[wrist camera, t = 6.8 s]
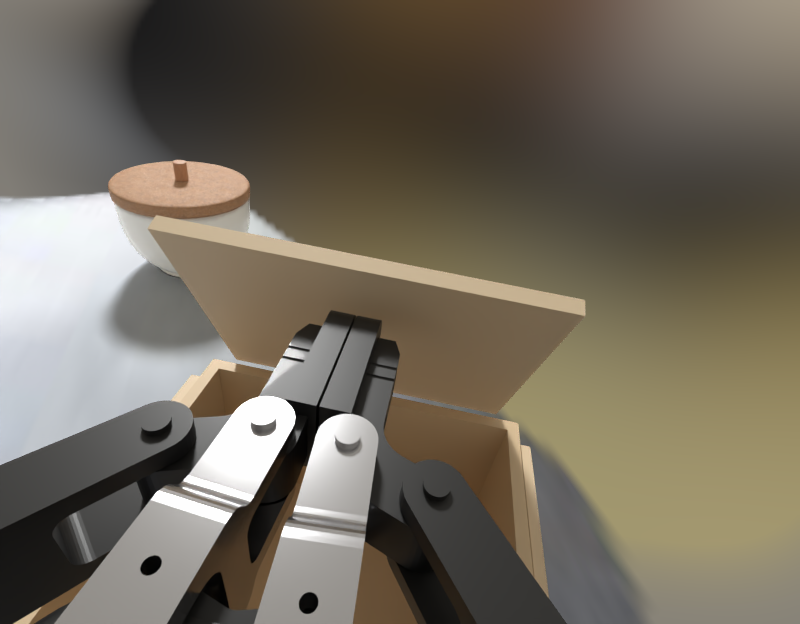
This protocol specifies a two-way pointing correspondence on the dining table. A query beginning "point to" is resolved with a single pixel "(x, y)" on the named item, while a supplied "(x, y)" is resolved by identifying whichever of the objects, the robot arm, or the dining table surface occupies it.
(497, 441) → the carton
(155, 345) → the dining table surface
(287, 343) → the flap
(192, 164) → the lidded jar
